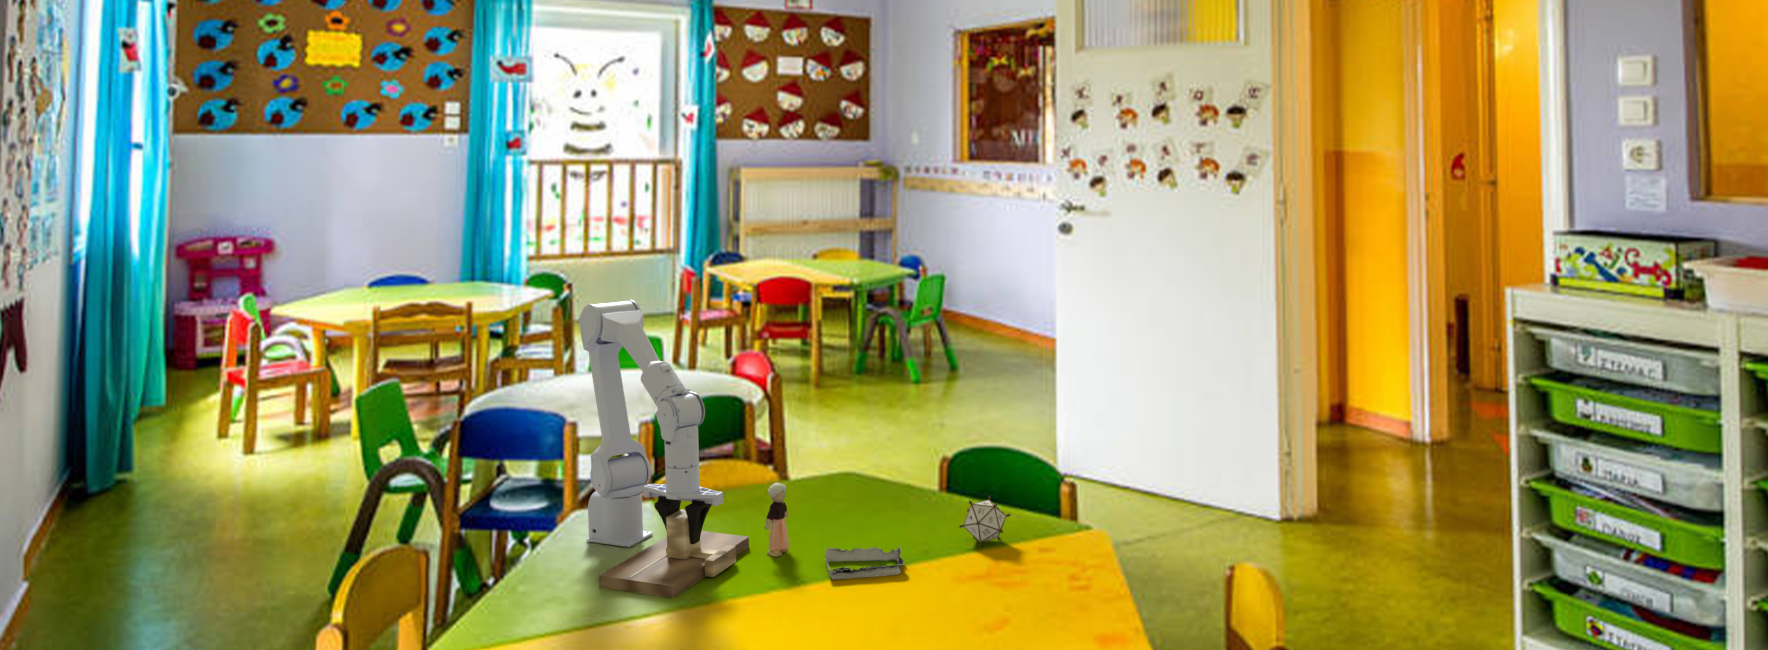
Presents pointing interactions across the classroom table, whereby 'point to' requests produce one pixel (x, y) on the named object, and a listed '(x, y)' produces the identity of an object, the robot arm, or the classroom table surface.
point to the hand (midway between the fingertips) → (684, 540)
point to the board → (666, 567)
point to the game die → (984, 520)
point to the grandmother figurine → (777, 521)
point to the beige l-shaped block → (695, 546)
